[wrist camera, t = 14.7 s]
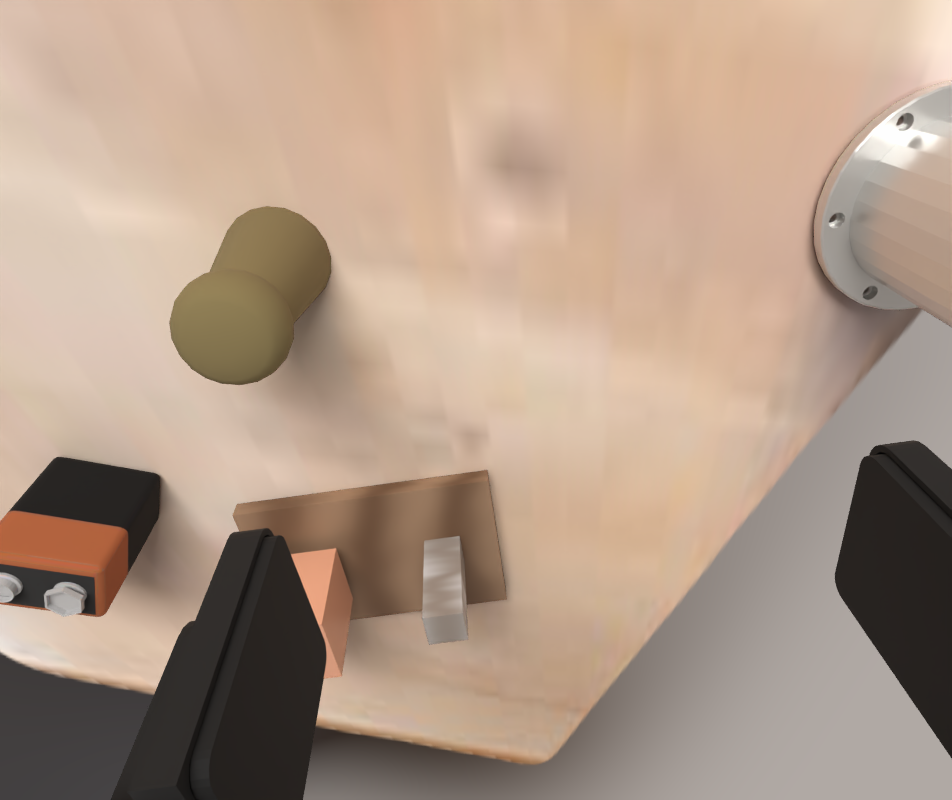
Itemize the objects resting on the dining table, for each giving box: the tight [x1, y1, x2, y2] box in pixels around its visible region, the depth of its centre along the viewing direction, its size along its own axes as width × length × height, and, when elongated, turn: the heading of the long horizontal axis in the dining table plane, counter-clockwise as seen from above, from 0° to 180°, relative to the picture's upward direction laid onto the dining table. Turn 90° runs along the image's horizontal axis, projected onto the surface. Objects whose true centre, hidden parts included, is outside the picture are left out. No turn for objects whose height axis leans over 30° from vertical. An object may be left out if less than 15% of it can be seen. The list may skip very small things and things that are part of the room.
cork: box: [170, 206, 331, 385], centre depth 32 cm, size 6×6×11 cm
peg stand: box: [233, 470, 507, 645], centre depth 45 cm, size 18×12×8 cm, turn 98°
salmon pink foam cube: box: [291, 548, 353, 679], centre depth 44 cm, size 5×5×7 cm
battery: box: [0, 457, 160, 617], centre depth 40 cm, size 4×7×10 cm, turn 74°
